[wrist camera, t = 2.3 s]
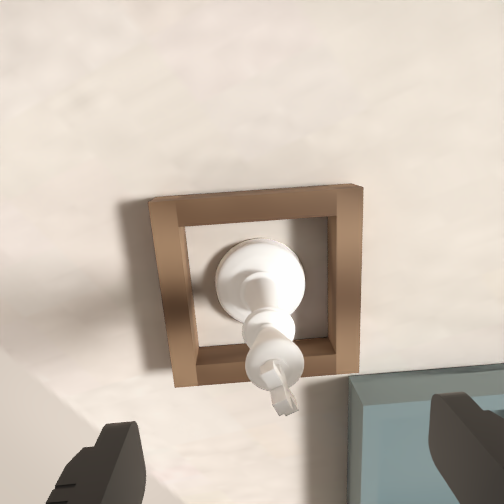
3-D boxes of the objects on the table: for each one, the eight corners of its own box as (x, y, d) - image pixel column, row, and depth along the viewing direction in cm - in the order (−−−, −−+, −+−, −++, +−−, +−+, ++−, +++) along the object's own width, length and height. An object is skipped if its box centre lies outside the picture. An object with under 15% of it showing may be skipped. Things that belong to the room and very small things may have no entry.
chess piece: (241, 335, 21) (246, 498, 11) (198, 264, 19) (161, 379, 10) (319, 297, 20) (393, 433, 11) (279, 221, 19) (325, 298, 9)
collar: (156, 196, 18) (147, 202, 17) (351, 183, 18) (363, 187, 17) (179, 367, 21) (174, 387, 19) (348, 354, 21) (359, 372, 20)
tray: (348, 376, 22) (363, 405, 19) (543, 360, 22) (582, 387, 19) (346, 524, 25) (358, 565, 23) (515, 508, 25) (545, 548, 23)
